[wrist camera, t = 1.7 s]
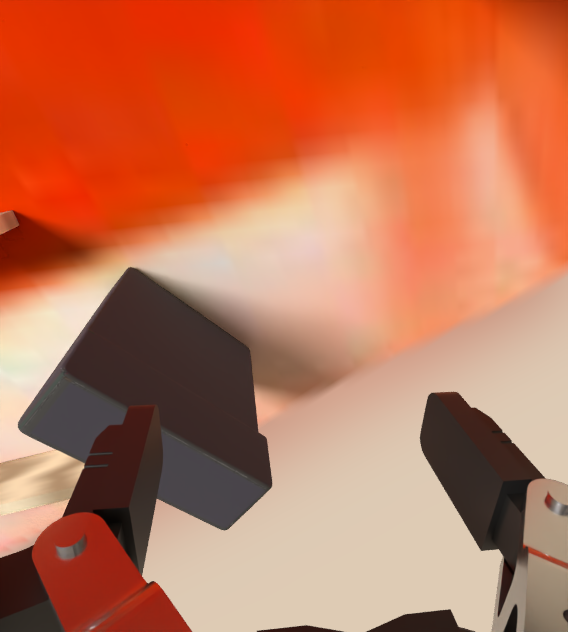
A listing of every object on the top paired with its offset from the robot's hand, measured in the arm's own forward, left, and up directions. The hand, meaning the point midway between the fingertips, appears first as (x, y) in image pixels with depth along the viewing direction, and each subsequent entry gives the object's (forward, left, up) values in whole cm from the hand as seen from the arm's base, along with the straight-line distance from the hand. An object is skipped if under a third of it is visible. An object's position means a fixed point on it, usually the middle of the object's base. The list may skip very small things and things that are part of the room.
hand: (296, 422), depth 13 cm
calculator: (+7, +5, -20) cm, 22 cm away
